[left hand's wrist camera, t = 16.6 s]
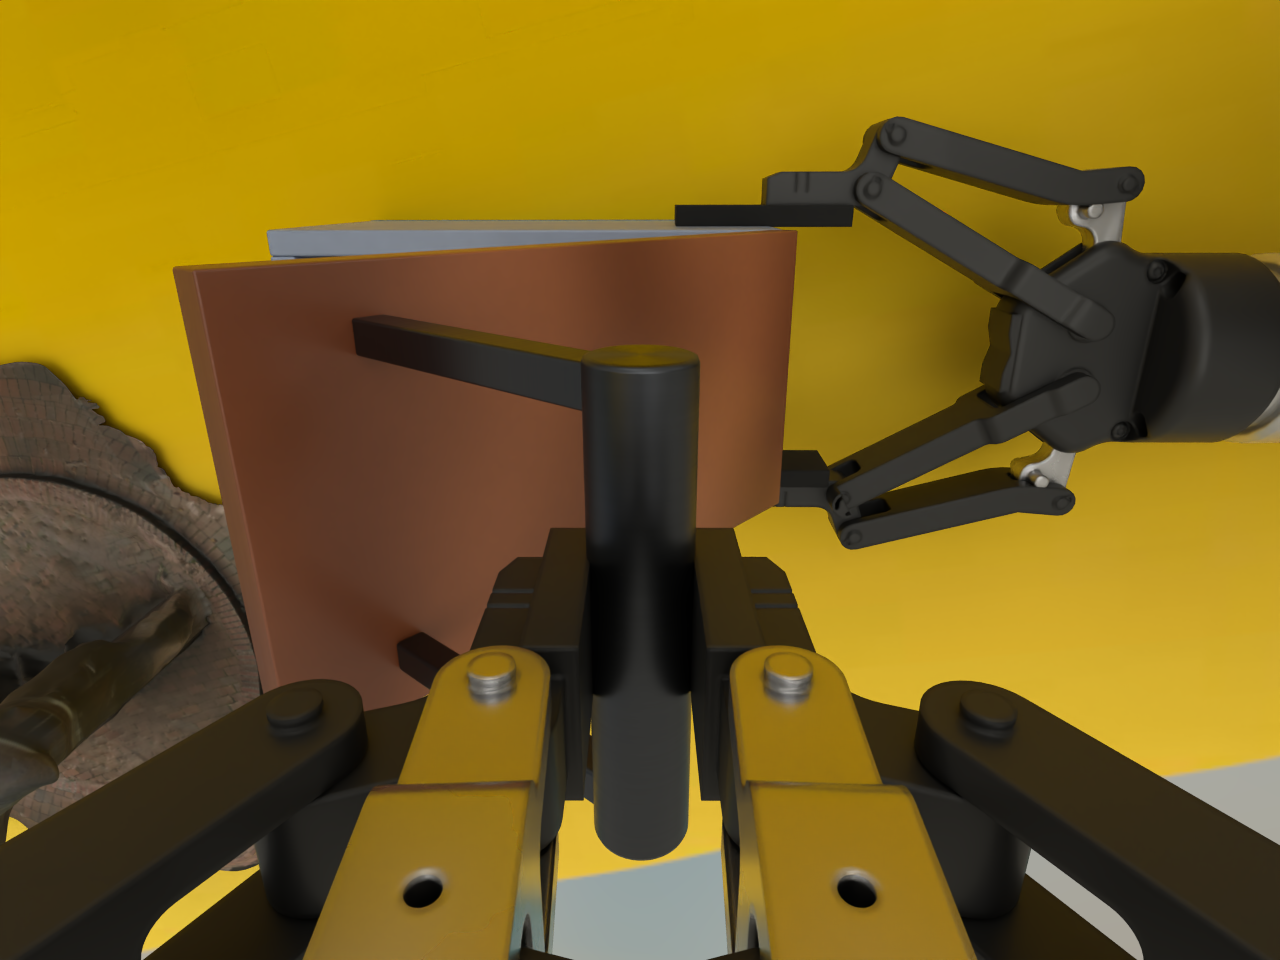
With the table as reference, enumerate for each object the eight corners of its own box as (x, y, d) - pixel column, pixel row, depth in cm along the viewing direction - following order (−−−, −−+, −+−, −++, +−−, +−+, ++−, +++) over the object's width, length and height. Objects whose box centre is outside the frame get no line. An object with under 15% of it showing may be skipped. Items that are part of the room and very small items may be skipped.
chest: (399, 416, 39) (309, 492, 29) (375, 220, 36) (264, 229, 26) (738, 417, 39) (767, 495, 29) (747, 219, 35) (784, 229, 25)
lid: (273, 747, 16) (549, 1022, 10) (170, 266, 12) (503, 316, 7) (758, 497, 29) (989, 563, 23) (774, 229, 25) (1048, 238, 20)
